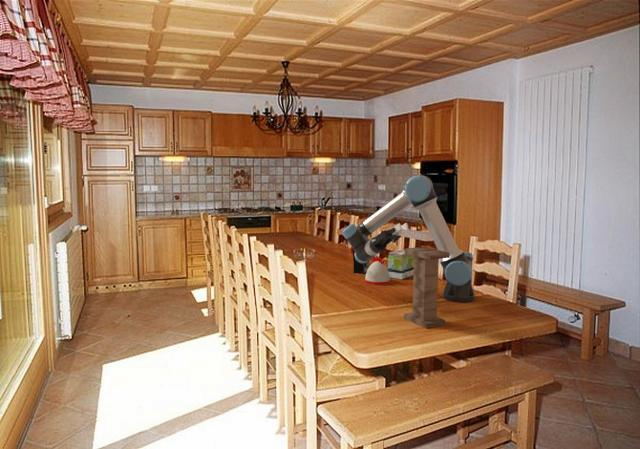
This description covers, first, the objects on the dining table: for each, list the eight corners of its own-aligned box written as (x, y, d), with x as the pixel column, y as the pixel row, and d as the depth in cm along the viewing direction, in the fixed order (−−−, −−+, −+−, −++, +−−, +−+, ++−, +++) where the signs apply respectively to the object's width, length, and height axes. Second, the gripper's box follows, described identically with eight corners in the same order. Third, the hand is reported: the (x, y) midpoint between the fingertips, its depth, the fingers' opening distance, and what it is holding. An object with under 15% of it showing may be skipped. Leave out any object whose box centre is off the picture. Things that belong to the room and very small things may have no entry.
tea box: (402, 279, 275) (403, 254, 274) (387, 277, 281) (387, 252, 280) (414, 275, 287) (415, 250, 285) (399, 272, 293) (400, 248, 292)
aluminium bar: (431, 240, 197) (431, 233, 196) (425, 241, 195) (426, 233, 195) (393, 233, 218) (394, 226, 218) (388, 233, 217) (388, 226, 217)
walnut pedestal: (446, 325, 197) (449, 252, 194) (427, 329, 193) (430, 254, 189) (420, 314, 211) (423, 246, 208) (402, 317, 207) (404, 248, 203)
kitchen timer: (374, 278, 280) (374, 252, 278) (394, 281, 271) (395, 255, 269) (360, 282, 269) (360, 255, 267) (381, 286, 260) (382, 259, 258)
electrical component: (367, 274, 289) (367, 241, 287) (350, 273, 291) (350, 240, 289) (370, 268, 306) (370, 236, 304) (354, 267, 308) (354, 236, 306)
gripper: (392, 251, 231) (420, 232, 212) (363, 254, 224) (391, 234, 204) (387, 237, 234) (415, 217, 215) (359, 239, 226) (386, 218, 207)
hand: (403, 225), depth 210 cm, fingers closed on aluminium bar, 3 cm apart
